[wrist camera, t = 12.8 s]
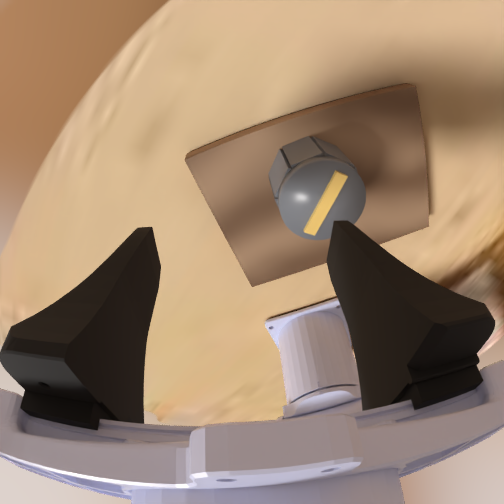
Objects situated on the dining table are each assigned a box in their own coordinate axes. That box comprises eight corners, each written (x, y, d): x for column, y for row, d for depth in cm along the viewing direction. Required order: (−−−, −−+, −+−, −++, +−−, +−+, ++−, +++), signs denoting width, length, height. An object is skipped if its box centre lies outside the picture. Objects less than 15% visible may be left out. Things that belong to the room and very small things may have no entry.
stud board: (422, 218, 24) (444, 246, 21) (251, 277, 27) (254, 312, 23) (406, 83, 17) (439, 95, 14) (186, 153, 20) (178, 177, 16)
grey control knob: (289, 126, 18) (304, 148, 14) (356, 155, 19) (383, 183, 16) (259, 193, 20) (265, 229, 17) (323, 215, 22) (340, 251, 18)
